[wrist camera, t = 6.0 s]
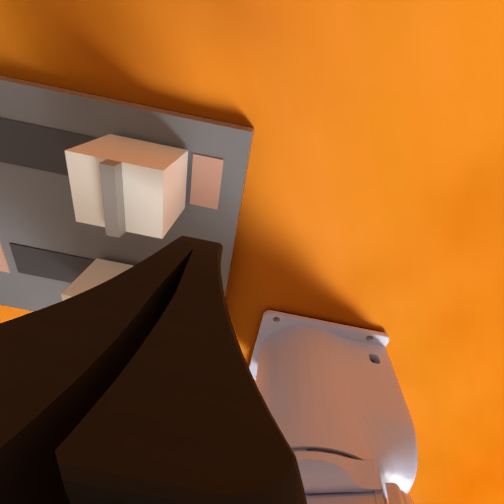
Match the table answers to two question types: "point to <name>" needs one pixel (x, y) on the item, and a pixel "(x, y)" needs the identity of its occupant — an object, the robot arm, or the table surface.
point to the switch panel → (60, 197)
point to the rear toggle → (94, 276)
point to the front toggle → (127, 185)
